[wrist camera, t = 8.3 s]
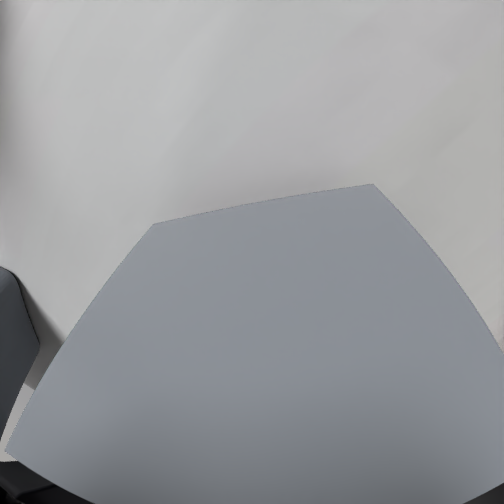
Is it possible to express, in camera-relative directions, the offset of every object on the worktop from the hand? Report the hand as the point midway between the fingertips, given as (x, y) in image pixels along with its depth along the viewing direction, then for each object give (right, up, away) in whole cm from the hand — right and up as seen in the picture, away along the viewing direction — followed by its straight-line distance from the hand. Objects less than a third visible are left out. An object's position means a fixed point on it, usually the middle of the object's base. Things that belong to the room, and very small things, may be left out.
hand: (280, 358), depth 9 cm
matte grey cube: (0, +2, +2) cm, 3 cm away
